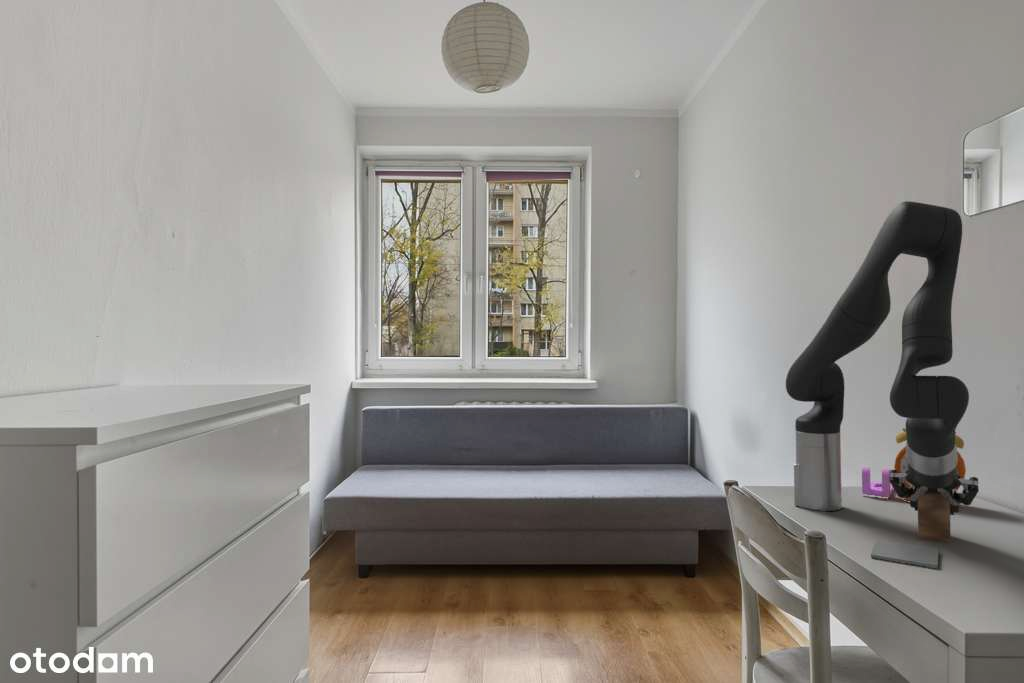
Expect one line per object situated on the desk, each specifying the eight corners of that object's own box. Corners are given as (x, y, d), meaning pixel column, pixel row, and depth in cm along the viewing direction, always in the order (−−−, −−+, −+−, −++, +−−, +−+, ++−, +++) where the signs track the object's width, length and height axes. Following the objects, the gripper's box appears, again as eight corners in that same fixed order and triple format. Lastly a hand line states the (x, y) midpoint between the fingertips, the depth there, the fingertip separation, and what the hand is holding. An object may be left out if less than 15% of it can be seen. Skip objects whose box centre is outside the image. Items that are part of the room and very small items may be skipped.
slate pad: (870, 557, 106) (870, 554, 106) (876, 543, 113) (876, 539, 113) (937, 569, 100) (937, 565, 100) (938, 552, 108) (938, 549, 108)
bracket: (889, 500, 144) (888, 470, 144) (862, 496, 148) (861, 468, 148) (893, 489, 155) (893, 461, 155) (868, 486, 158) (868, 459, 158)
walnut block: (918, 537, 116) (917, 480, 116) (919, 531, 120) (918, 475, 120) (950, 542, 113) (949, 483, 113) (950, 535, 117) (949, 478, 117)
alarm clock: (894, 500, 143) (892, 416, 143) (898, 495, 147) (897, 413, 148) (964, 510, 134) (962, 420, 134) (966, 504, 139) (964, 417, 139)
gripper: (981, 443, 106) (979, 497, 116) (885, 437, 115) (891, 487, 124) (983, 479, 102) (981, 532, 112) (883, 470, 110) (890, 520, 120)
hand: (934, 508), depth 118 cm, fingers closed on walnut block, 5 cm apart
